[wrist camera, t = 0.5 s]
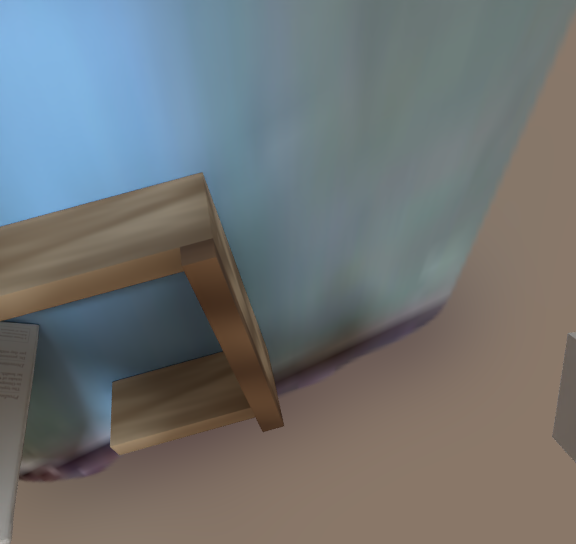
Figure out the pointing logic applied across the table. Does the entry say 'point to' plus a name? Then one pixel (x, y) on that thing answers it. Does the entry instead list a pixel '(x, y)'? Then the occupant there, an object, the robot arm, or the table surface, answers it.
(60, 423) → the table surface
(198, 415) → the brown wooden frame
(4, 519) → the supplement box
